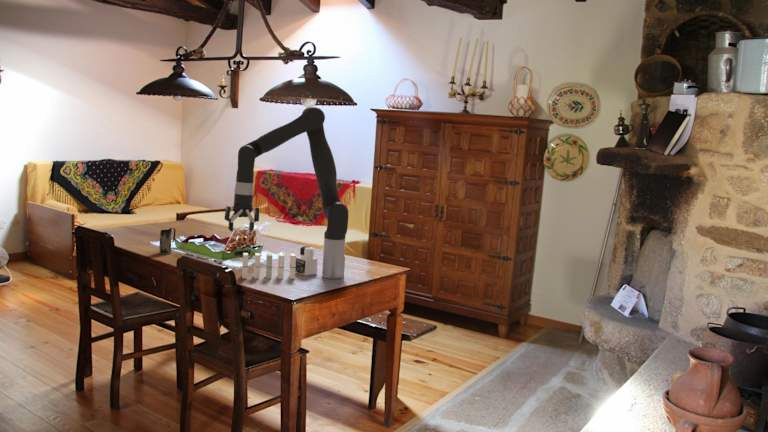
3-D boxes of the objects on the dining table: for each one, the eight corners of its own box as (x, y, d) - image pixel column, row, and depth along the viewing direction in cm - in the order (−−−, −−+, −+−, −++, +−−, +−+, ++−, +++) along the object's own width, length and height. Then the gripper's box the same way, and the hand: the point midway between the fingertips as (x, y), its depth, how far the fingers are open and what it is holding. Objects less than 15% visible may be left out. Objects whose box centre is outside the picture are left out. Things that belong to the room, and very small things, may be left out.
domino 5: (293, 276, 280) (294, 253, 279) (295, 278, 275) (296, 256, 274) (289, 276, 279) (290, 253, 278) (290, 278, 275) (291, 255, 273)
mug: (164, 254, 305) (164, 229, 303) (156, 253, 308) (157, 228, 306) (177, 252, 312) (178, 228, 310) (170, 251, 314) (171, 226, 313)
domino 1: (247, 275, 275) (247, 252, 274) (247, 278, 270) (248, 255, 269) (242, 275, 274) (243, 252, 273) (242, 278, 270) (243, 255, 268)
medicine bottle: (294, 272, 287) (296, 246, 285) (307, 270, 292) (308, 245, 290) (304, 275, 282) (305, 249, 280) (317, 274, 287) (318, 247, 285)
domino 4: (282, 276, 279) (283, 253, 277) (283, 278, 274) (284, 255, 273) (277, 275, 278) (278, 253, 277) (278, 278, 273) (279, 255, 272)
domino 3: (270, 275, 277) (271, 253, 276) (271, 278, 273) (272, 255, 271) (265, 275, 277) (266, 253, 276) (266, 278, 272) (267, 255, 271)
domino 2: (258, 275, 276) (259, 253, 275) (259, 278, 271) (260, 255, 270) (254, 275, 276) (255, 252, 274) (254, 278, 271) (255, 255, 270)
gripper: (230, 193, 261) (227, 232, 263) (263, 194, 269) (260, 232, 271) (224, 191, 267) (221, 229, 269) (256, 192, 275) (253, 229, 277)
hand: (241, 231), depth 270 cm, fingers open, 8 cm apart
